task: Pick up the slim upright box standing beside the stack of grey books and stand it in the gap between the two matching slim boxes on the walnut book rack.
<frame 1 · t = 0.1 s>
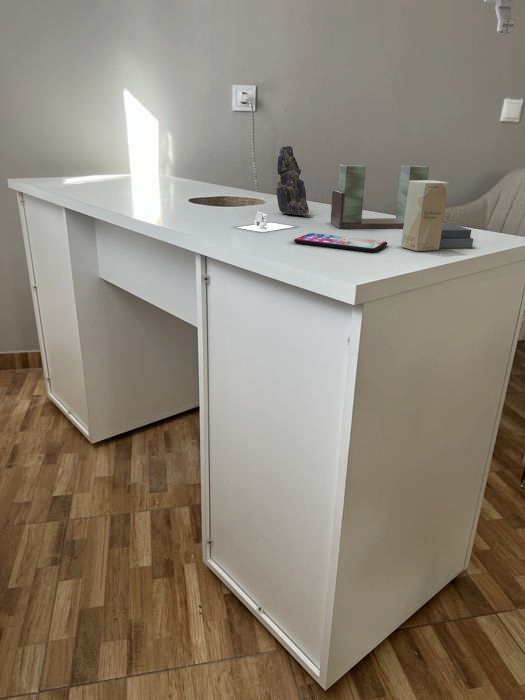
hand: (522, 28, 78), 32 cm above the table, tool pointing down, fingers open, 8 cm apart
grey books: (445, 243, 99), on the table
smartphone: (340, 244, 97), on the table
box: (420, 249, 95), on the table
book rack: (378, 225, 117), on the table
statue: (292, 215, 131), on the table
adhesive hook: (266, 228, 113), on the table
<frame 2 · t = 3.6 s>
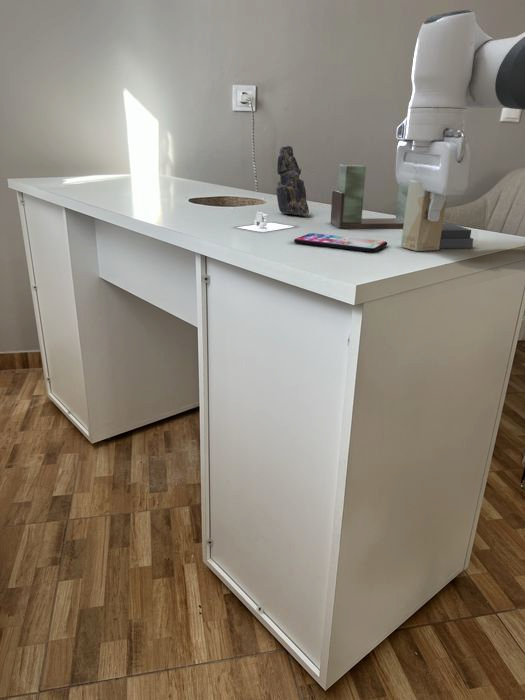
hand: (423, 217, 93), 5 cm above the table, tool pointing down, fingers closed on box, 5 cm apart
box: (419, 249, 95), on the table, touching gripper
everything else where it was.
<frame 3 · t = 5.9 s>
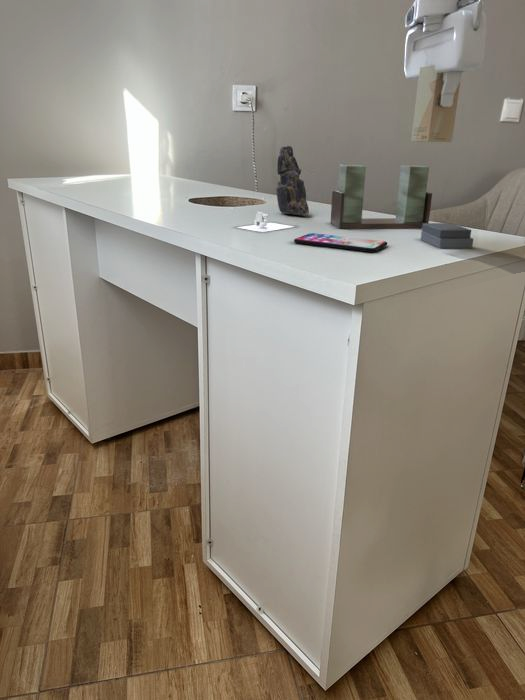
hand: (435, 107, 88), 22 cm above the table, tool pointing down, fingers closed on box, 5 cm apart
box: (431, 143, 90), point 17 cm above the table, touching gripper
everything else where it was.
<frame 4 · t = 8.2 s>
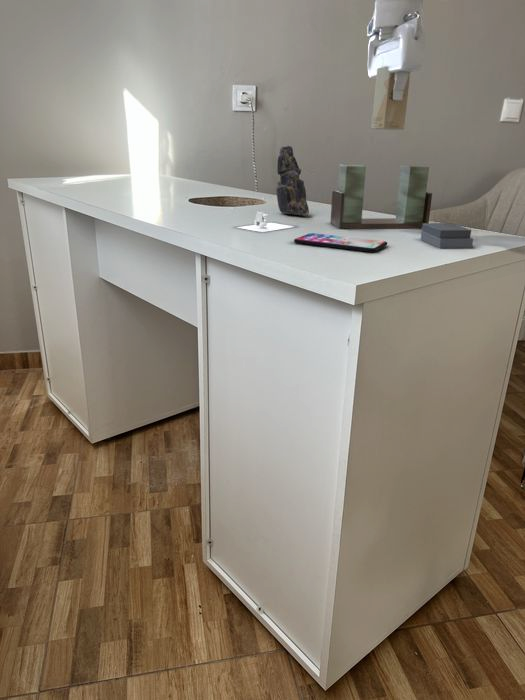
hand: (390, 101, 108), 24 cm above the table, tool pointing down, fingers closed on box, 5 cm apart
box: (387, 130, 110), point 19 cm above the table, touching gripper
everything else where it was.
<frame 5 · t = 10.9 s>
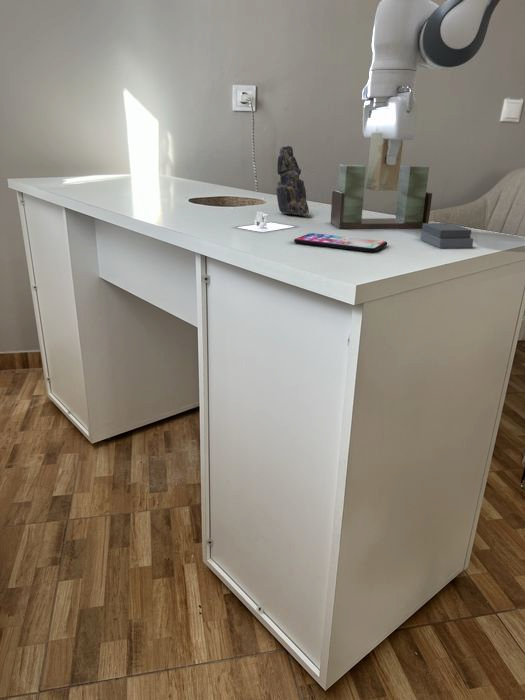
hand: (384, 163, 112), 12 cm above the table, tool pointing down, fingers closed on box, 5 cm apart
box: (381, 191, 114), point 7 cm above the table, touching gripper
everything else where it was.
when the fingers open (6 cm above the table, at t = 13.1 s): box stays where it is, resting on book rack.
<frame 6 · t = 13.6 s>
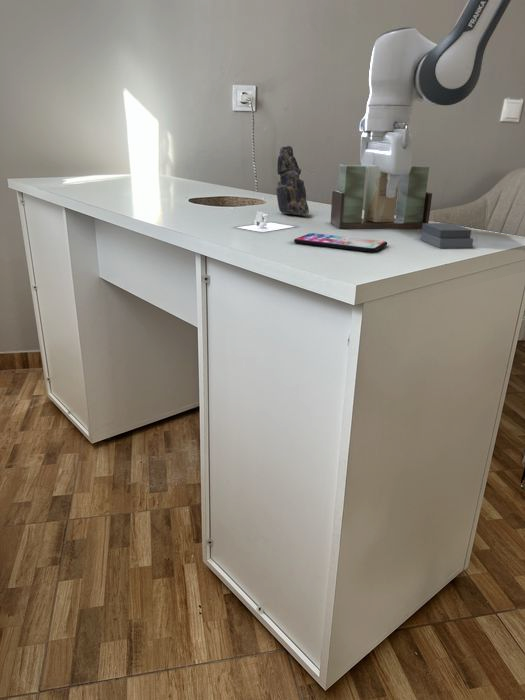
hand: (381, 194, 115), 6 cm above the table, tool pointing down, fingers open, 8 cm apart
box: (378, 221, 117), point 1 cm above the table, touching book rack
everything else where it was.
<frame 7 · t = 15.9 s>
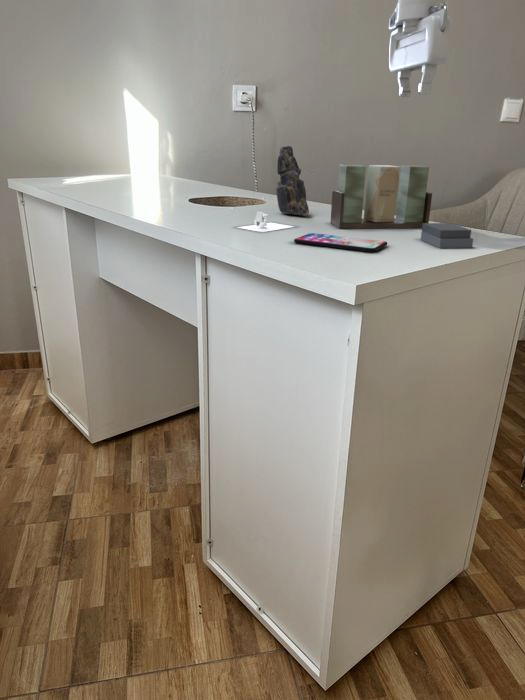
hand: (413, 95, 106), 25 cm above the table, tool pointing down, fingers open, 8 cm apart
nothing on the table moved.
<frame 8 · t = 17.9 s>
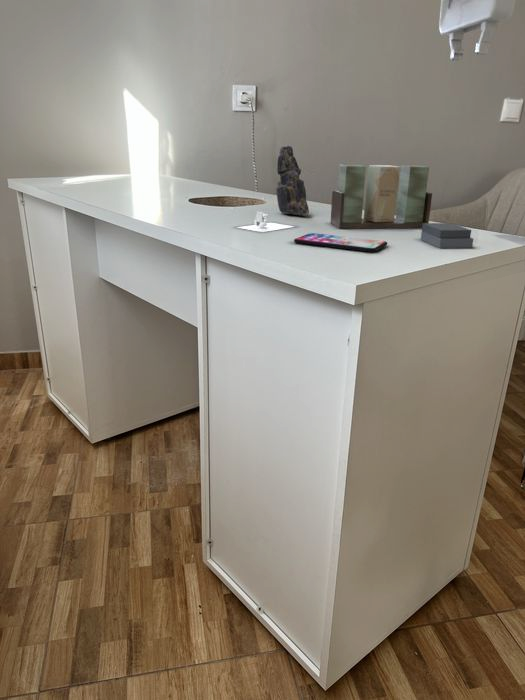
hand: (468, 57, 100), 31 cm above the table, tool pointing down, fingers open, 8 cm apart
nothing on the table moved.
at the end: box 0.1 cm off-centre on the book rack, point 0.8 cm above the book rack's base; box tilted 0°; the gripper is holding nothing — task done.
